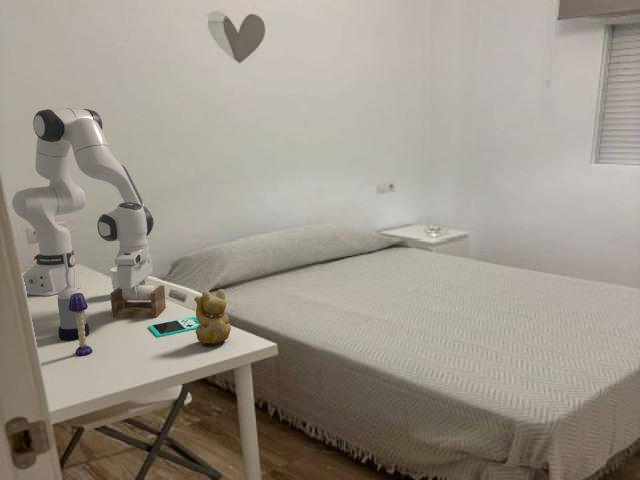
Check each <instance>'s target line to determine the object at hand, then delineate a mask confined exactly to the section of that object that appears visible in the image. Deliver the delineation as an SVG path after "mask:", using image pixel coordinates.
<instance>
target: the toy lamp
mask: <svg viewBox="0 0 640 480" xmlns="http://www.w3.org/2000/svg"><path fill="white" fill-rule="evenodd" d="M88 306H89V305H88V302H87V300H86V298H85V296H84V294H83V293H82V292H81V293H75V294H72V295H71V297H70V303H69V311H72V312H76V319H77V325H78V335H79V340H78V341H79V344H78V345H79V346H78V347H77V348H76V349H75V356H79V357H83V356H84V357H85V356H88V355H91V354H92V353H93V349H92V346H89V345H87V341H86V340H87V337H85V331H84V329H85V326H84V320H83V314H82V313H83V310H84V311H86V310H87V309H88V308H89V307H88Z"/></svg>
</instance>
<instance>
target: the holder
mask: <svg viewBox="0 0 640 480" xmlns="http://www.w3.org/2000/svg"><path fill="white" fill-rule="evenodd" d="M122 290H123V289H121V288H120V287H119V288H117V289H116V290H115V291H114V290H112V292H110V296H109V297H110V302H111V303H110V305H111V315H112V318H133V319H134V318H145V319H146V318H147V319H151V318H152V319H153V318H156V319H157V318H158V317H159V316H160V315H161V314H162V313H163V312H164V311H165V310H166V309H165V308H167V307H166V306H167V305H166V295H165V294H166V293H165V292H166V291H165V285H159V286H157V287H156V288H155V290H154V291H153V292H152V293H151V294H150V295H151V301H124V300H123V297H122ZM164 309H165V310H164Z"/></svg>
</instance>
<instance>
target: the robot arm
mask: <svg viewBox="0 0 640 480" xmlns="http://www.w3.org/2000/svg"><path fill="white" fill-rule="evenodd" d="M32 121H33V122H32V124H33V125H32V127H33V130H34V133H35V135H36V136H37V140H36V149H35V150H36V151H35V166H34V167H35V170H36V172H37V174H38V175H39V176H40V177H42V178H44V179H45V180H48V181H49V185H47V186H38V187H29V188H25V189H21V190H19V191H17V192H16V193H14V195H13V197H12V201H11V204H12V209H13V211H14V212H15V214H16V215H17V216H18V217H19V218H22V219H23V220H25V221H26V222H28V223H29V224H30V226H32V228H33V230H34V232H35V234H36V238H37V242H38V249H39V253H38V254H37V255H35V256H33V261H35V260H36V262H35V264H34V265H33V266H32V267H31V268H29V269H28V270H27V271H25V273H24V274H23V275H22V277H23V278H24V282H25V286H26V291H27V294H26V295H27V296H28V295H33V296H44V297H45V296H46V297H50V296H53V295H57V294H58V295H59V293H60V292H61V291H62V290H63V289H65V288H66V287H67V283H66V279H65V273H66V269H65V265H64V257H63V253H64V252H66V258H67V265H68V268H69V281H70V284H71V286H72V287H74V285H75V287H74V288H77V289H78V290H79V289H80V288H81V285H82V284H81V283H80V281H79V278H78V274H77V271H76V266H75V265H76V260H75V259H76V258H75V252H74V250H73V244H72V235H71V231H70V230H69V229H68V228H67V227H66V226H63V225H61V224H58V223H56V221H55V217H56V216H63V215H70V214H73V213H76V212H78V211H81V210H83V209H84V207H85V206H86V202H87V197H86V193H85V191H84V189H83V188H82V187H80V186H79V185H78V184H77V183H75V181H74V179H73V177H72V174H71V155H72V154H71V152H73V156H74V158H75V162H76V164H77V167H78V168H79V170H80V171H81V172H82V174H84V175H86V176H87V177H89V178H92V179H93V180H94V179H95V180H98V181H103V182H106V183H108V184H111V185H112V186H114V187H115V189H117V191H118V193H119V194H120V196H121V198H122V199H123V201H124V202H122V203H119V204H118V205H117V206H116V208H115V209H113V210H111V211H108V212H105V213H103V214H101V216H100V217H99V218H98V221H97V232H98V233H97V234H99V236H100V238H101V239H103V240H105V242H106V241H107V242H119V250H118V252H117V254H116V256H115V258H114V264H115V266H116V267H117V277H118V284H119V287H120V288H121V289H129V291H130V293H131V298H137V297H138V292H137V291H136V285H147V278H148V277H150V276H151V275H152V274H153V270H154V267H153V261H152V256H151V254H150V246H149V245H150V244H149V239H148V236H149V235H150V234H151V232H152V230H153V228H154V221H155V220H154V217H153V215H152V214H151V212H150V211H149V209H148V207H147V206H146V205H145V203H144V201H143V199H142V197H141V195H140V192H139V190H138V189H137V187H136V184H135V183H134V181H133V179H132V177H131V175H130V173H129V171H128V169H126V167H125V166H124V165H123V164H121V163H120V162H119V161H118V160H117V159H116V158H115V157H114V155H113V152H111V148H110V147H109V144H108V141H107V139H106V136H105V133H104V131H103V121H102V118H101V116H100V115H99V113H98V112H97V111H95V110H93V109H88V108H84V109H83V108H71V107H69V108H68V107H67V108H56V109H50V108H47V109H42V110H39V111H37V112H36V113H35V115H34V117H33V119H32ZM71 253H72V255H71ZM72 261H73V268H72ZM73 269H74V270H73ZM74 271H75V274H74ZM74 278H75V283H74Z"/></svg>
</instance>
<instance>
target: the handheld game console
mask: <svg viewBox="0 0 640 480" xmlns="http://www.w3.org/2000/svg"><path fill="white" fill-rule="evenodd" d="M198 325H200V323H199V322H198V320H197V318H196V316H190V317H189V316H188V317H184V318H180V319H173V320H170V321H164V322H159V323H156V324H150V325H148V329H149V330H150V332H152V333H153V334H154V336H155V337H156V338H161V337H168V336H171V335H172V336H173V335H176V333H177V334H181V332H182V333H185V332H190V331H196V327H197V326H198Z"/></svg>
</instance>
